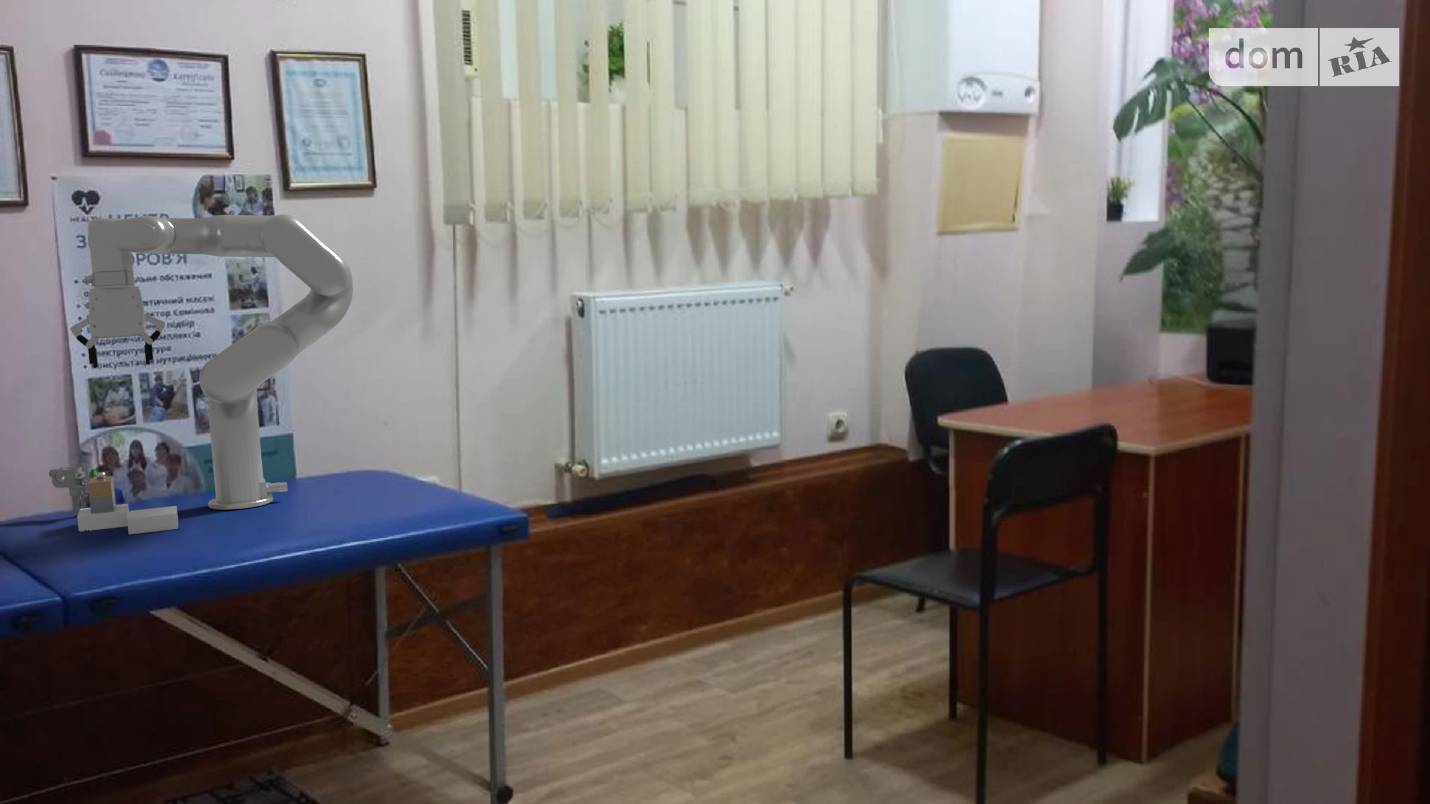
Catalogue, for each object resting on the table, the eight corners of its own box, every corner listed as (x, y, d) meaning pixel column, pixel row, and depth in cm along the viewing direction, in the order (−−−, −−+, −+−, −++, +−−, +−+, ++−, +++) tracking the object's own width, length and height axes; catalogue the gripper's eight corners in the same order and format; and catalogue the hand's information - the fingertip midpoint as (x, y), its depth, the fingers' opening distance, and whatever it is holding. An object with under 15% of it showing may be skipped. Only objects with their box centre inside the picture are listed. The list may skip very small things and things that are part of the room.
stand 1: (129, 518, 257) (128, 503, 257) (128, 526, 249) (126, 511, 249) (81, 523, 254) (80, 508, 254) (78, 531, 246) (77, 516, 246)
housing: (113, 511, 249) (110, 476, 248) (91, 514, 247) (87, 478, 246) (115, 505, 255) (112, 471, 254) (93, 508, 254) (90, 473, 253)
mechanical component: (95, 518, 259) (90, 469, 258) (51, 518, 261) (46, 469, 260) (105, 514, 262) (100, 466, 261) (61, 515, 264) (56, 467, 263)
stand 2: (178, 520, 252) (176, 505, 252) (178, 528, 244) (176, 513, 244) (130, 526, 249) (128, 511, 249) (128, 534, 241) (127, 518, 241)
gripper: (64, 283, 250) (73, 370, 252) (160, 278, 257) (168, 363, 259) (67, 282, 257) (75, 368, 259) (160, 278, 264) (168, 361, 266)
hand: (122, 365), depth 259 cm, fingers open, 9 cm apart
